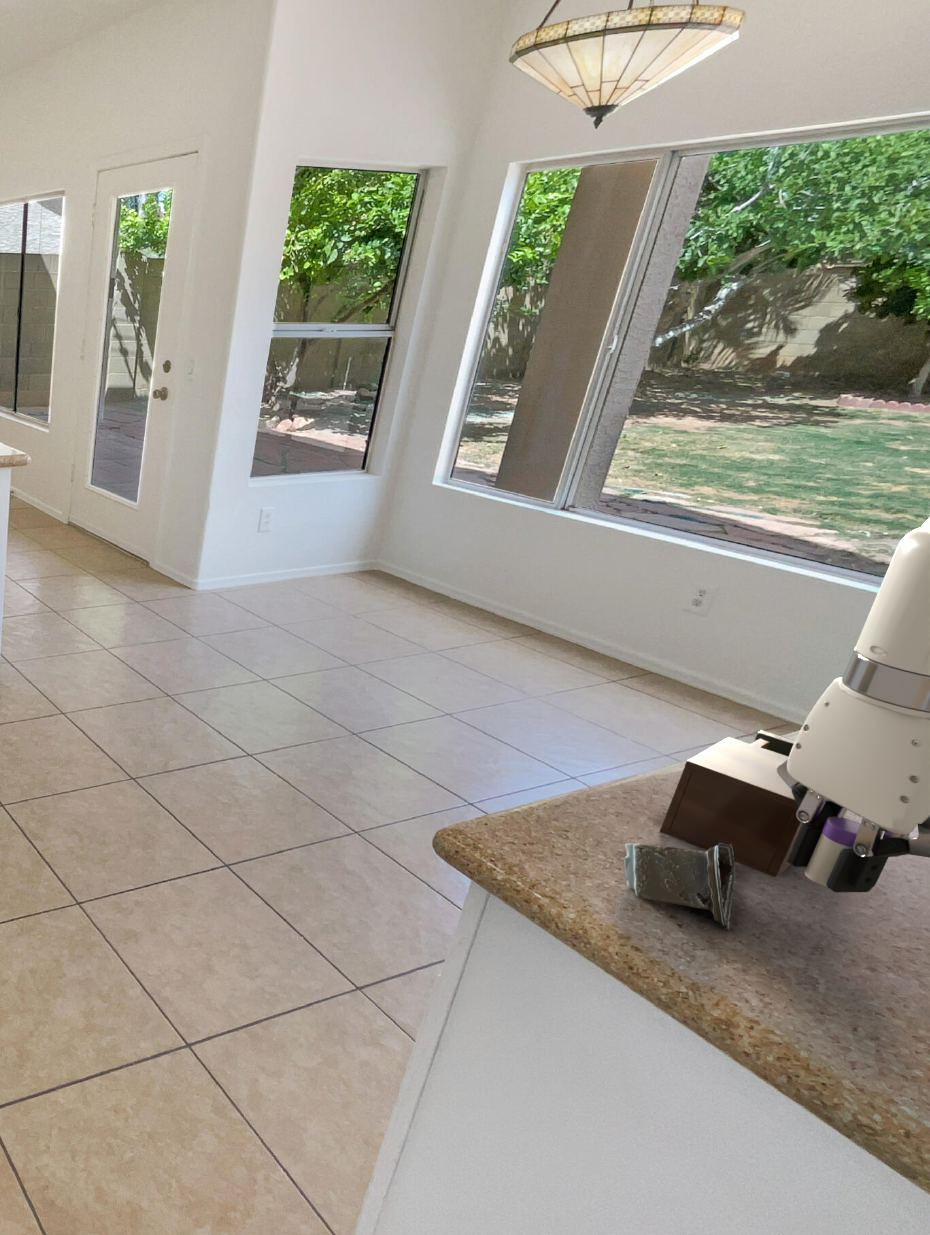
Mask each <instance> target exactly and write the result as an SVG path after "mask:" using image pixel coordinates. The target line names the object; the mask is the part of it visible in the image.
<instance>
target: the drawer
mask: <svg viewBox="0 0 930 1235" xmlns="http://www.w3.org/2000/svg"><path fill="white" fill-rule="evenodd" d="M794 742H795V739H791V738H787V737H785V736H781V735H779V734H775V733H772V732H769V731H766V730H760V731H758V732H757V733H756V734H755V738H754V740H753V742H752V743H751V744H752V745H755V746H758V747H761V748H764V749H767V750H770V751H773V752H776V753H779V754H782V755H785V756H788V757H789V755H790V752H791V749H792V747H793V745H794Z"/></svg>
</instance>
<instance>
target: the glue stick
mask: <svg viewBox="0 0 930 1235" xmlns="http://www.w3.org/2000/svg"><path fill="white" fill-rule="evenodd" d="M860 824H861V822H859V821H856V820H853V819H849V818H845V817H843V818H841V817H829V818H828V819H827V820H826V823H825V825H824V827H823V829H822V834H821V836H820V838H819V841H818V843H817V845H816V847H815V850H814V852H813V854H812V857H811V859H810V861H809V863H808V866H807V867H805V870H804V875H805V877H807V878H808V879H809V880H811V881H812V882H814V883H815V884H818V885H821V886H824V887H826V888H828V887H827V885H826V883H827V881H828V878H829V876H830V874H831V872H832V870H833V867H834V865H835V863H836V861H837V859H838V856H839V854H840V852H841V851H842V850H843V849H853V844H854V841H855V838H856V836H857V833H858V830H859V827H860Z"/></svg>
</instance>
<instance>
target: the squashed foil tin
mask: <svg viewBox="0 0 930 1235" xmlns="http://www.w3.org/2000/svg"><path fill="white" fill-rule="evenodd" d="M731 845H732V844H729V845H728V844H724V843H719V844H718V845H717V846H715V847H711V848H710V849H708V850H703V851H702V850H697V849H688V848H681V847H673V846H660V845H656V844H649V843H625V845H624V848H625V851H626V856H625V857H624V858H623V860H624V879H625V880H626V885H627V887H628V888H629V889H630V890H633V891H634V893H635V895H636V897H637V898H638V899H643V900H647V901H653V902H663V903H666V904H669V905H671V904H672V905H677V906H682V907H683V906H684V907H689V908H694V909H703V910H708V911H710V912H711V913H712V915H713V918H714V919H713V920H714V921H716V922H717V923H719V924H721V925H723V926H725V928H726V929H728V930H729V929H730V928H729V927H730V925H731V922H730V921H729V920H731V908H732V906H733V904H732V901H734V900H733V891H734V886H735V882H736V878H735V876H736V875H735V861H734V858H733V849H732V848H733V847H732V846H731Z"/></svg>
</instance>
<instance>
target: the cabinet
mask: <svg viewBox="0 0 930 1235" xmlns="http://www.w3.org/2000/svg"><path fill="white" fill-rule="evenodd" d="M788 758H789V757H788V756H785V755H782V754H779V753H776V752H773V751H770V750H767V749H764V748H761V747H758V746H755V745H752V743H749V742H745V741H742V740H739V739H736V738H734V737H730V736H729V737H727V738H724V739H723V740H721V741H719V742H717V743H715V744H714V745H712V746H710V747H708V748H707V749H705V750H703V751H701V752H700V753H698V754H697V755H695V756H693V757H691V758H689V759H687V760H686V762H685V764H684V767H683V770H682V772H681V775H680V778H679V780H678V782H677V784H676V788H675V791H674V793H673V795H672V797H671V801H670V803H669V806H668V808H667V811H666V814H665V815H664V816H665V817H664V819H663V822H662V824H661V827H660V829H659V832H660V833H663V834H665V835H667V836H670V837H672V838H676V839H678V840H680V841H683V842H685V843H688V844H690V845H693V846H695V847H698V848H700V849H703V850H704V851H707V850H708V849H710V848H711V847H715V846H717V845H718V844H719V843H724V844H728V845H729V844H732V845H731V846H732V847H733V848H732V849H733V858H734V863H738V864H740V865H743V866H746V867H748V868H751V869H753V870H756V871H758V872H761V873H764V874H765V875H768V876H771V877H773V878H777V877H779V875H781V874H782V873H783V872H784V871H785V870H786V869H787V868H789V867H790V866H791V865H792V864H790V863H788V862H787V859H788V857H789V855H790V852H791V850H792V848H793V844H794V841H795V839H796V837H797V834H798V832H799V830H800V827H801V825H802V822H800V821H799V820H798V819H797V817H796V812H797V810H798V808H799V807H798V805H797V803H796V801H795V798H794V796H793V794H792V788H789V786H788V785H787V784H786V783H785V782H784V780H783V779H782V778H781V777H780V776H779V774H778V773H777V768H778V766H780V765H781V764H782V763H784V762H785V761H787V760H788Z"/></svg>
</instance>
